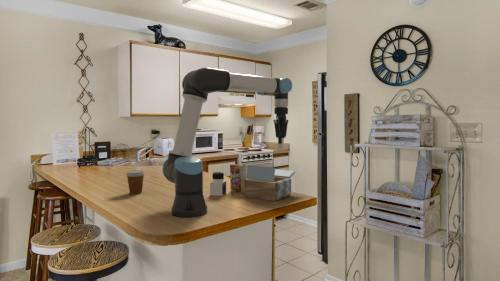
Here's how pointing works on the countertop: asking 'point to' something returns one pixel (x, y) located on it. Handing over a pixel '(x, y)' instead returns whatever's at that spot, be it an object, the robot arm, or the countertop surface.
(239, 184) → the candy box
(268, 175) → the near flap
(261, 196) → the carton
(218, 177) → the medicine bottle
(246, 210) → the countertop surface
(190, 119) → the robot arm
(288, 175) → the far flap
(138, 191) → the disposable coffee cup
